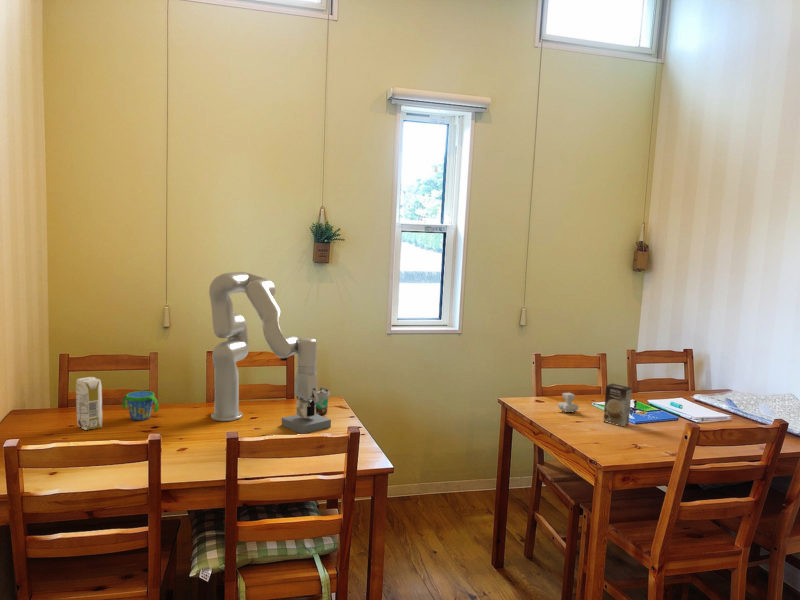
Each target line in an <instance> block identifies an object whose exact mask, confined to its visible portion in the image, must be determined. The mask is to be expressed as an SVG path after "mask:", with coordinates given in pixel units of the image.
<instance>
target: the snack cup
mask: <svg viewBox="0 0 800 600" xmlns="http://www.w3.org/2000/svg"><path fill="white" fill-rule="evenodd" d="M153 404H154V409H153ZM121 407H122V409H124V410H125V409H127V408H128V413H129V419H130V420H131V419H132V420H131V421H139V420H140V421H146V420H148V419H150V417H151V415H152V410H153V413H158V411H159V409H160V405H159V402H158V399H157V397H156V396H155V392H153V391H149V390H137V391H132V392H128V393H127V394H125V395H124V396H123V399H122V403H121ZM145 419H146V420H145Z"/></svg>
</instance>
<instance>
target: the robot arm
mask: <svg viewBox="0 0 800 600" xmlns="http://www.w3.org/2000/svg"><path fill="white" fill-rule="evenodd" d="M208 293H209V301H210V306H211V307H210V308H211V318H212V319H211V320H212V329H213V334H214V335H215V336H216V337H217V338H218V339H226V340H225V341H222V342H220V343H218V344H216V346H214V348H213V350H212V355H211V357H212V363H213V369H214V404H213V408H214V412H212V413H211V414H210V419H212V420H213V421H217V422H218V421H219V422H230V421H235V420H236V421H237V420H239V419H241V418H243V412H242V411H240V410H239V407H240V406H239V402H240V399H239V398H240V397H239V394H240V391H239V387H240V386H239V382H240V381H239V380H240V379H239V378H240V377H239V376H240V375H239V370H238V366H237V362H239V361H242V360H244V359H245V358H246V357H247V356H248V355H249V351H250V350H249V349H250V344H249V333H248V324H247V321H246V319H245V318H244V316H243V315H242V314H240V313H237V312H234V305H233V304H234V303H233V301H232V299H231V297H230V296H231V294H239V293H245V295H246V296H247V298H248V300H249V302H250V303H251V305H252V307H253V308H254V310H255V312H256V313H257V315H258V317H259V318H260V320H261V323H262V324H261V326H262V332H263V336H264V339H265V341H266V343H267V345H268V346H269V348H270V350H271V351H272V353H274V355H276V357H277V358H280V359H287V358H288V357H290V356H294V355H297V358H296V359H297V361H296V362H297V363H296V364H297V365H296V368H297V370H296V374H295V378H294V396H296V399H297V400H301V399H305V400H307V402H308V407H307V416H308V417H309V416H314V411H315V405H316V403H317V401H318V400H319V399H318V396H317V393H318V391H319V390H318V388H319V387H318V375H317V364H318V363H317V362H318V360H317V359H318V358H317V357H318V355H317V354H318V343H317V339H315V338H311V337H300V336H296V335H289V336H284V334H283V332H282V330H281V328H280V323H279V319H280V316H281V313H282V311H281V308H280V306H279V305H278V304H277V302H276V300H275V298H274V295H275V294H276V287H275V284H274V282H272V281H271V280H270V279H268V278H266V277H262V276H258V275H256V274H252V273H249V272H245V271H233V272H231V271H230V272H225V273H221V274H219V275H217V276H216V277H215V278H214V279H213V280H212V281H211V283H210V285H209V290H208ZM311 397H312V398H311ZM310 400H312V401H311V403H310Z"/></svg>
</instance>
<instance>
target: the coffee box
mask: <svg viewBox="0 0 800 600" xmlns="http://www.w3.org/2000/svg"><path fill="white" fill-rule="evenodd" d="M631 399H632V387H629V386H626V385H621V384H616V383H609V384H607V385H605V397H604V409H603V420H604V421H608V422H611V423H614V424H618V425H621V426H620V427H622V426H624V425H626V424H628V425H629V424H630V415H631V403H632V402H631ZM614 424H613V425H614ZM618 425H617V426H618ZM626 426H627V425H626ZM624 427H625V426H624Z"/></svg>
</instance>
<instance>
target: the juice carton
mask: <svg viewBox="0 0 800 600" xmlns="http://www.w3.org/2000/svg"><path fill="white" fill-rule="evenodd" d="M102 385H103V384H102V381H101V379H99V378H97V377H95V376H88V377H87V376H86V377H81V378H76V384H75V405H76V410H75V411H76V423H77V427H78V426H79V427H81V428H82V429H84V430H88V431H90V430H89V429H93V430H96V429H95V428H98V429H100V428H99V427H101V428H102V427H103V388H102ZM79 427H78V428H79ZM81 428H80V429H81ZM82 429H81V430H82ZM84 430H83V431H84Z"/></svg>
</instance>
